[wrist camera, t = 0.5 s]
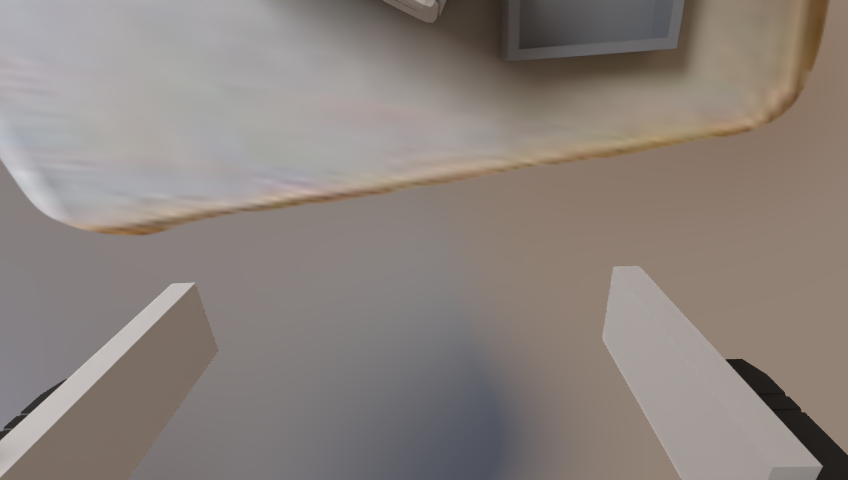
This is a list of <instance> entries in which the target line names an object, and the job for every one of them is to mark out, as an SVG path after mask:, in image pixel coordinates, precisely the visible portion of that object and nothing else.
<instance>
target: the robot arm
mask: <svg viewBox="0 0 848 480" xmlns="http://www.w3.org/2000/svg"><path fill="white" fill-rule="evenodd" d="M602 340H603V342H604V343H605V345H606V347H607V348H608V350H609V352H610V354H611V356H612V357H613V359H614V361H615V363H616V364H617V366H618V368H619V370H620V372H621V373H622V375H623V377H624V379H625V380H626V382H627V384H628V386H629V388H630V389H631V391H632V393H633V395H634V397H635V398H636V400H637V402H638V404H639V405H640V407H641V409H642V411H643V412H644V414H645V416H646V418H647V419H648V421H649V423H650V425H651V426H652V428H653V430H654V432H655V434H656V435H657V437H658V439H659V441H660V443H661V444H662V446H663V448H664V450H665V451H666V453H667V455H668V457H669V458H670V460H671V462H672V464H673V465H674V467H675V469H676V470H677V473H678V474H679V476H680V478H681V480H848V455H847V454H846V453H845V452H844V451H843V450H842V449H841V448H840V447H839V446H838V445H837V444H836V443H835V442H834V441H833V440H832V439H831V438H830V437H829V436H828V435H827V434H826V433H825V432H824V431H823V430H822V429H821V428H820V427H819V426H818V425H817V424H816V423H815V422H814V421H813V420H812V419H811V418H810V417H809V416H807V414H806V413H802V412H801V409H800V407H799V406H798V405H797V404H796V403H795V402H794V401H793V400H792V399H791V398H790V397H786V395H785V392H784V391H783V390H782V389H781V388H780V387H779V386H778V385H777V384H776V383H775V382H774V381H773V380H772V379H771V378H770V377H769V376H768V375H767V374H765V373H764V372H762V371H760V370H759V369H757V368H756V367H754V366H752V365H751V364H749V363H748V362H746V361H744V360H743V359H724V358H723V357H722V356H721V355H720V354H719V352H718V351H717V350H716V349H715V348H714V347H713V346H712V345H711V344H710V343H709V342H708V340H707V339H706V338H705V337H704V336H703V335H702V334H701V333H700V332H699V331H698V330H697V328H696V327H695V326H694V325H693V324H692V323H691V322H690V321H689V320H688V319H687V318H686V317H685V315H684V314H683V313H682V312H681V311H680V310H679V309H678V308H677V307H676V306H675V305H674V303H673V302H672V301H671V300H670V299H669V298H668V297H667V296H666V295H665V294H664V293H663V291H662V290H661V289H660V288H659V287H658V286H657V285H656V284H655V283H654V282H653V281H652V280H651V278H650V277H649V276H648V275H647V274H646V273H645V272H644V271H643V270H642V269H641V267H640V266H622V267H621V266H620V267H613V272H612V278H611V285H610V292H609V298H608V304H607V310H606V317H605V324H604V330H603V337H602ZM217 352H218V348H217V345H216V342H215V339H214V336H213V333H212V331H211V328H210V325H209V322H208V319H207V316H206V313H205V310H204V307H203V304H202V302H201V298H200V295H199V292H198V289H197V287H196V284H195V283H177V284H171V285H170V286H169V287H168V288H167V289H166V290H165V291H163V292H162V293H161V294H160V295H159V296H158V297H157V298H156V299H155V300H154V301H153V302H151V303H150V304H149V305H148V306H147V307H146V308H145V309H144V310H143V311H142V312H141V313H139V314H138V315H137V316H136V317H135V318H134V319H133V320H132V321H131V322H130V323H129V324H127V326H125V327H124V328H123V329H122V330H121V331H120V332H119V333H118V334H116V335H115V336H114V337H113V338H112V339H111V340H110V341H109V342H108V343H107V344H106V345H105V346H103V347H102V348H101V349H100V350H99V351H98V352H97V353H96V354H95V355H93V357H91V358H90V359H89V360H88V361H87V362H86V363H85V364H84V365H83V366H82V367H80V368H79V369H78V370H77V371H76V372H75V373H74V374H73V375H72V376H70V377H69V379H65V380H63V381H62V382H60V383H59V384H57V385H56V386H54V387H52V388H51V389H49V390H47V391H46V392H44V393H43V394H41V395H40V396H39V397H38V398H36V400H34V401H33V402H32V403H31V404H30V405H29V406H28V407H26V408H25V409H24V410H23V411H22V412H21V415H20V416H16V417H15V418H14V419H13V420H12V421H11V422H10V423H8V424H7V425H6V426H5V427H4V430H3V431H1V432H0V480H128V478H129V477H130V476H131V474H132V472H133V471H134V470H135V468H136V467H137V466H138V464H139V463H140V461H141V460H142V459H143V457H144V456H145V454H146V453H147V451H148V450H149V448H150V447H151V446H152V444H153V443H154V442H155V440H156V439H157V437H158V436H159V434H160V433H161V431H162V430H163V429H164V427H165V426H166V424H167V423H168V422H169V420H170V419H171V417H172V416H173V415H174V413H175V412H176V410H177V409H178V407H179V406H180V404H181V403H182V402H183V400H184V399H185V398H186V396H187V395H188V393H189V391H190V390H191V389H192V388H193V386H194V385H195V383H196V382H197V380H198V379H199V378H200V376H201V375H202V373H203V372H204V370H205V369H206V368H207V366H208V365H209V363H210V362H211V361H212V359H213V358H214V356H215V355H216V353H217Z"/></svg>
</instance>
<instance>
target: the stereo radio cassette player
mask: <svg viewBox="0 0 848 480" xmlns="http://www.w3.org/2000/svg"><path fill="white" fill-rule="evenodd" d="M382 1H384V2H386V3H388V4H390V5H392V6H394V7H396V8H398V9H400V10H402V11H404V12H405V13H407V14H409V15H411V16H413V17H415V18H417V19H420V20H422V21H424V22H427V23H433V22H434V21H435V20H436V19H437V18H438V17H437V15H439V16H440V15H441V13H442V11H443V8H444V6H445V4H446V1H447V0H382Z"/></svg>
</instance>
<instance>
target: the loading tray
mask: <svg viewBox="0 0 848 480" xmlns="http://www.w3.org/2000/svg"><path fill="white" fill-rule="evenodd" d="M684 3H685V0H502V61H507V62H510V61H523V60H536V59H549V58H561V57H574V56H587V55H600V54H612V53H625V52H638V51H651V50H663V49H676V48H677V45H678V39H679V33H680V27H681V21H682V15H683V9H684Z"/></svg>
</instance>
